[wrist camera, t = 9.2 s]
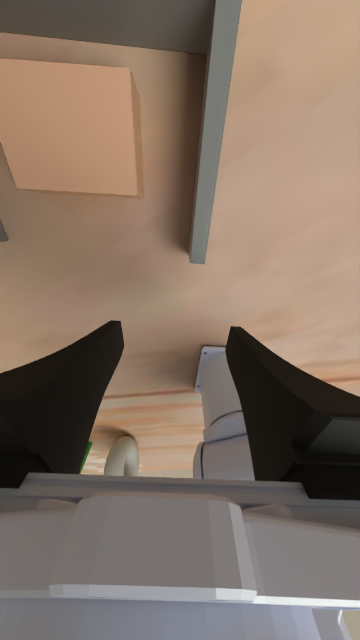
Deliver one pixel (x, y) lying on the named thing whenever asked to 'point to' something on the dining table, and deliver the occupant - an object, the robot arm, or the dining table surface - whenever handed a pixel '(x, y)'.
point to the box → (157, 33)
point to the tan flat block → (71, 128)
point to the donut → (123, 458)
